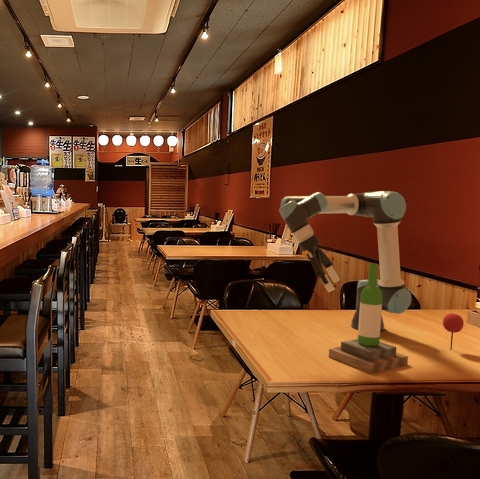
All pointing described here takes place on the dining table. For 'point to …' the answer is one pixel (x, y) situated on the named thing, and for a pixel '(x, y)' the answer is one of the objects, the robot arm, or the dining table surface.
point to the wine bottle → (370, 311)
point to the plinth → (368, 363)
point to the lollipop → (453, 324)
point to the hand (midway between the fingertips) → (334, 286)
